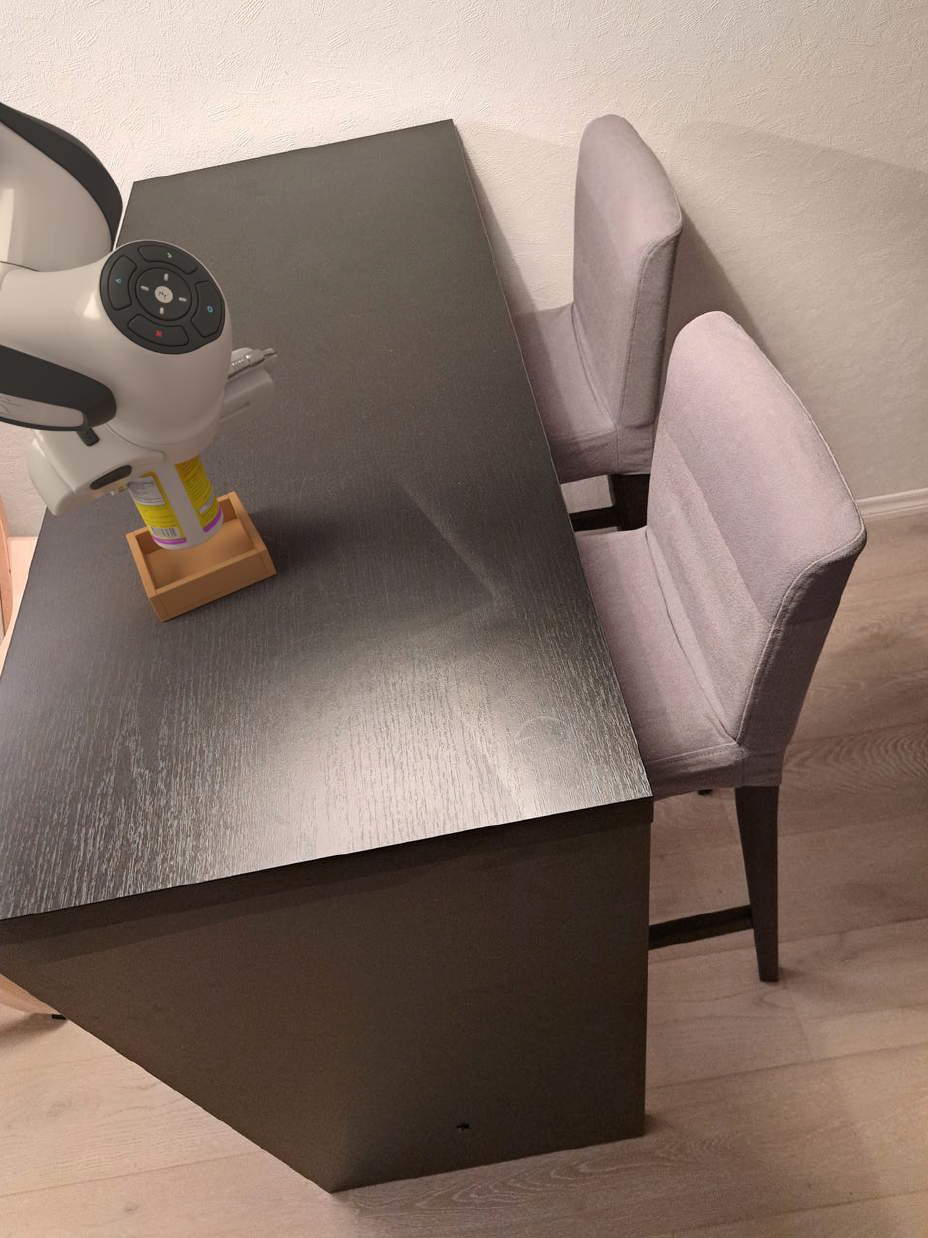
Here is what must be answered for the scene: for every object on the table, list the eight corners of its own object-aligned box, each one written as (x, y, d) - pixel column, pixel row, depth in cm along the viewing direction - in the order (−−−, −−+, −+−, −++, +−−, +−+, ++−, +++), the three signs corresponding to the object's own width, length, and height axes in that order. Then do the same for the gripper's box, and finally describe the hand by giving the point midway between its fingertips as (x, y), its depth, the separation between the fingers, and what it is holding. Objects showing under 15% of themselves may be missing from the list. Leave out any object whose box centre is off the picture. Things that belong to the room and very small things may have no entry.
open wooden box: (161, 622, 84) (148, 598, 82) (137, 558, 92) (125, 534, 90) (276, 573, 87) (267, 548, 85) (244, 514, 95) (234, 490, 93)
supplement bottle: (215, 499, 90) (165, 379, 81) (233, 534, 85) (181, 410, 76) (148, 526, 88) (89, 406, 80) (162, 563, 84) (101, 441, 75)
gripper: (256, 308, 73) (239, 381, 86) (4, 425, 66) (27, 486, 78) (301, 377, 73) (278, 440, 86) (55, 502, 66) (70, 550, 79)
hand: (156, 463), depth 82 cm, fingers closed on supplement bottle, 6 cm apart
